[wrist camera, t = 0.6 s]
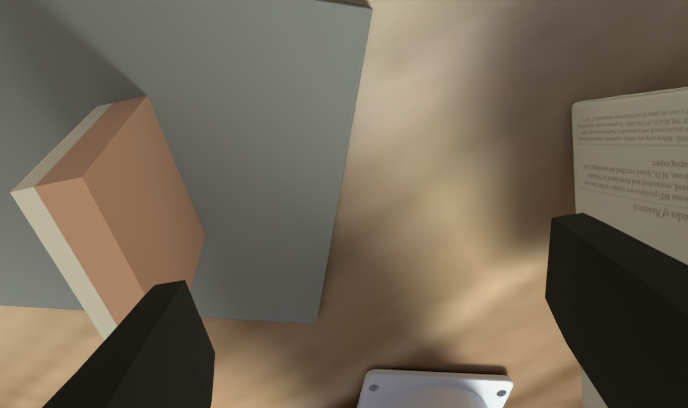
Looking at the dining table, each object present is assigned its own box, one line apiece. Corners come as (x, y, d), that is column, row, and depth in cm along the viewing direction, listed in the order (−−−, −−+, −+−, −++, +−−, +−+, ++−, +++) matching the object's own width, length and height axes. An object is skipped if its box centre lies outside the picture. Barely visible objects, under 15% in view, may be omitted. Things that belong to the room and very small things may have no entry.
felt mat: (315, 318, 23) (316, 324, 23) (-32, 296, 21) (-38, 302, 21) (371, 7, 16) (372, 9, 16) (-139, -74, 14) (-150, -74, 14)
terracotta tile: (147, 95, 17) (82, 176, 12) (205, 235, 20) (173, 348, 15) (96, 106, 17) (10, 191, 12) (162, 244, 20) (116, 359, 15)
